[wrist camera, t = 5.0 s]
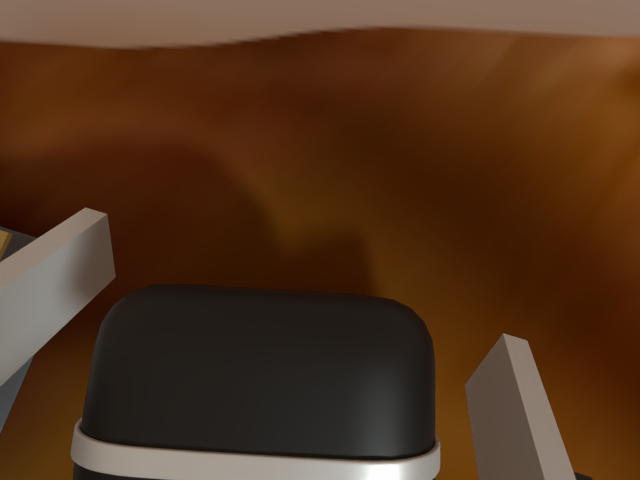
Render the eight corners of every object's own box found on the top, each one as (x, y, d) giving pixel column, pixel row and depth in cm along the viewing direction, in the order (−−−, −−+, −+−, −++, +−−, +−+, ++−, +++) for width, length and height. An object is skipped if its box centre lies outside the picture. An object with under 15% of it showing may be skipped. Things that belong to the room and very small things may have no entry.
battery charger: (371, 303, 17) (474, 289, 6) (369, 390, 17) (479, 552, 5) (222, 294, 17) (52, 263, 6) (213, 380, 17) (1, 522, 5)
